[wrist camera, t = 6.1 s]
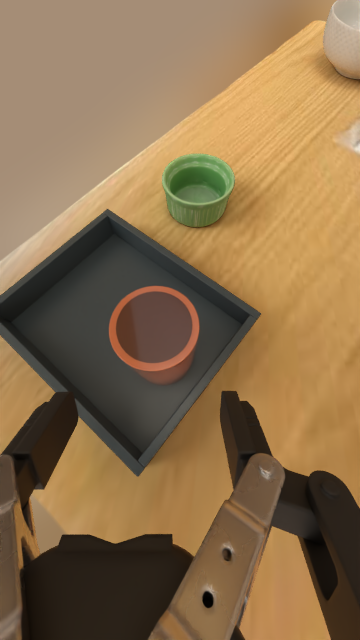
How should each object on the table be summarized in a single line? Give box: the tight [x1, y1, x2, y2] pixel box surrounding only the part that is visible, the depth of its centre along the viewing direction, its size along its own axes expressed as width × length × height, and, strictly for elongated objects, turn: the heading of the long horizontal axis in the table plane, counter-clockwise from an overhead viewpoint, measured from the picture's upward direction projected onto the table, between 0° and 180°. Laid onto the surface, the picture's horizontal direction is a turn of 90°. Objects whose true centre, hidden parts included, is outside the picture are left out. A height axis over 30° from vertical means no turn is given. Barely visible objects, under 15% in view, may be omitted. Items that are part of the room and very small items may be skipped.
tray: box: [0, 209, 261, 477], centre depth 24 cm, size 18×22×4 cm
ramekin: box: [162, 154, 235, 227], centre depth 30 cm, size 9×9×4 cm
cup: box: [109, 286, 200, 386], centre depth 20 cm, size 6×6×9 cm
